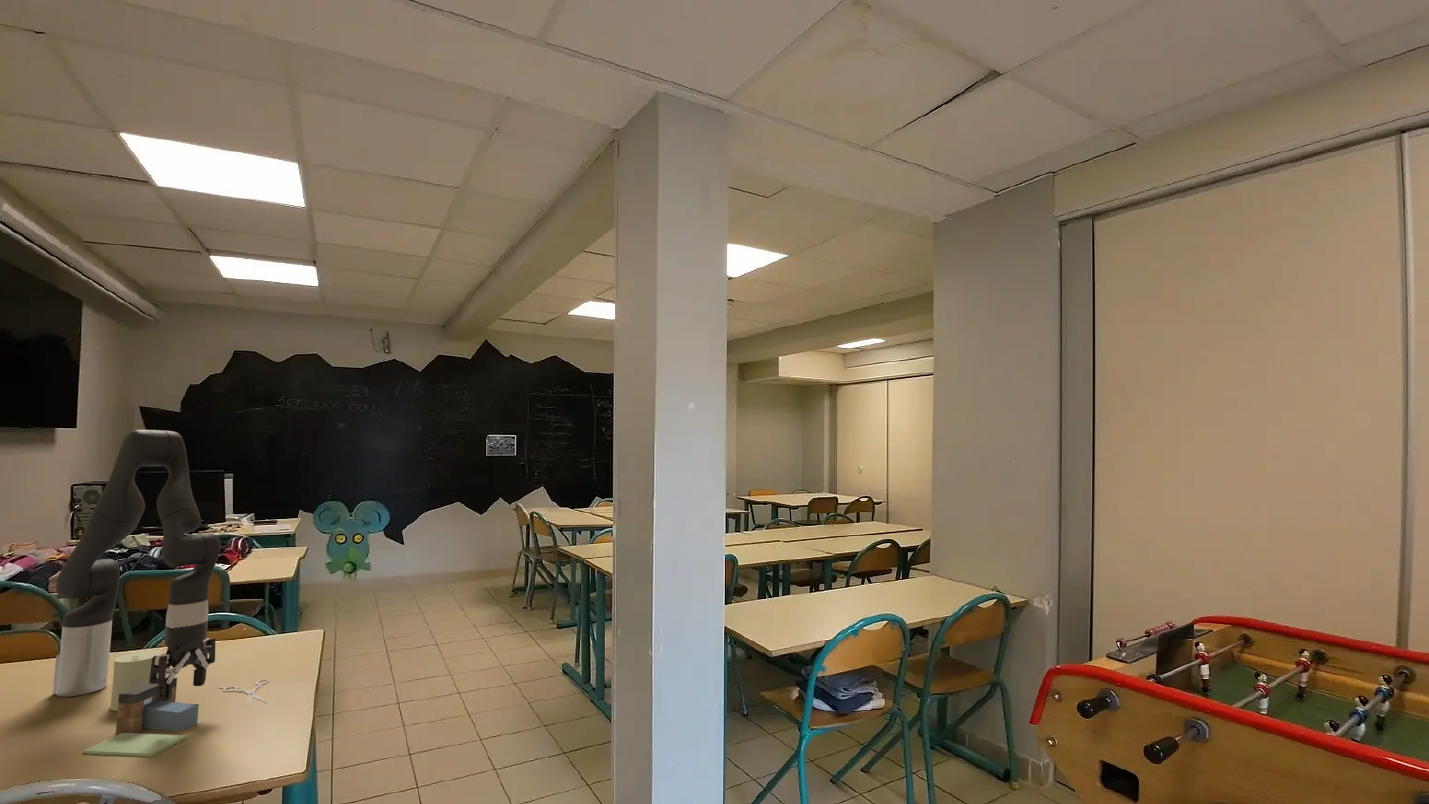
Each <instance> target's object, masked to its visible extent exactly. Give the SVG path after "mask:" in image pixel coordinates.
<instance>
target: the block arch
mask: <svg viewBox="0 0 1429 804" xmlns="http://www.w3.org/2000/svg"><path fill="white" fill-rule="evenodd" d="M167 677H168V676H166V678H167ZM171 683H172V694H171V699H170V700H168V701H171V702H176V696H177V686H178V685H177V683H178V677H174V678H173V680H172V682H171ZM158 690H159V685H158V684H150V683H149V682H148V683H145V684H143V685H140V686H138V687H135V688H133V689H130V690H128V691H125V692H122V693H120V694H119V700H118V711H116V712H117V715H116V724H115V725H116V726H115V733H116V734H120V733H137V732H140V731H141V730H142V729H143V727H142V717H143V705H144V700H145V699H148V698H150V697H152V700H159V699H158V693H159V692H158Z"/></svg>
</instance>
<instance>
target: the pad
mask: <svg viewBox="0 0 1429 804" xmlns="http://www.w3.org/2000/svg"><path fill="white" fill-rule="evenodd" d="M186 739H187V735H184V734H183V735H177V734H159V733H157V734H156V733H155V734H154V733H137V732H135V733H117V735H114V736H113V737H112V736H111V737H110V738H107V739H105V740H103V741H101V742H99V743H97V744H94V745H92V746H90V747H88V748H86V749H84V750H83V751H82V754H83V753H86V754H85V755H103V756H105V755H107V756H122V757H123V756H129V757H130V756H131V757H145V758H146V757H148V758H150V757H153V756H156V755H158V754H159V753H161V752H164V751H165V750H167V749H169V748H171V747H173V746H174V745H176V744H179V743H180V742H182V741H184V740H186Z"/></svg>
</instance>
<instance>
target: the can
mask: <svg viewBox="0 0 1429 804" xmlns="http://www.w3.org/2000/svg"><path fill="white" fill-rule="evenodd" d="M164 653H165V652H164V651H163V650H161V649H147V650H139V651H134V652H133V651H132V652H129V653H125V654H122V655H120V656H118V657H115V658H114V661H113V664H114V665H113V677H112V690H111V691H112V692H111V700H110V706H109V709H110V710H111V711H115V712H118V700H119V694H120V693H122V692H125V691H128V690H130V689H133V688H135V687H138V686H140V685H143V684H145V683H148V682H149V679H150V671H151V664H152V658H153V656H158V655H164ZM158 675H159V674H158V673H157V678H158ZM149 699H152V697H150V698H148V699H145V700H144V701H146V700H149Z"/></svg>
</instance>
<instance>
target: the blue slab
mask: <svg viewBox="0 0 1429 804" xmlns="http://www.w3.org/2000/svg"><path fill="white" fill-rule="evenodd" d="M199 705H200V704H196V703H189V702H188V703H187V702H181V701H180V702H179V701H175V702H171V701H160V700H152V699H149V700H146V701H144V705H143V717H142V728H146V729H153V730H161V731H169V732H170V731H171V732H180V731H182V730H184V729H187V728H189V727H191V726H193V725H196V724H198V718H199Z"/></svg>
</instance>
